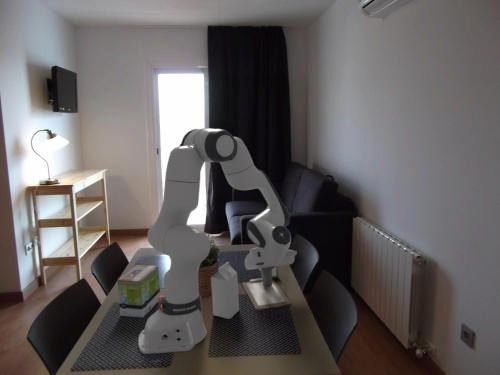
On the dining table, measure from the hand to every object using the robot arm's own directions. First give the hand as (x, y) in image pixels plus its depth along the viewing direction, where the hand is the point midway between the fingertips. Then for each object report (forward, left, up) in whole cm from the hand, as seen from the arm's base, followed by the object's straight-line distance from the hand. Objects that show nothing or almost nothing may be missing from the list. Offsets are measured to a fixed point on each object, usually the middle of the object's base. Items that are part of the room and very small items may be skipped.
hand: (266, 267), depth 159 cm
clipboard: (-2, -5, -9) cm, 11 cm away
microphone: (0, -1, -7) cm, 7 cm away
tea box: (-51, 0, -9) cm, 52 cm away
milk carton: (-20, -15, -9) cm, 27 cm away
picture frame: (+4, +9, -9) cm, 13 cm away
